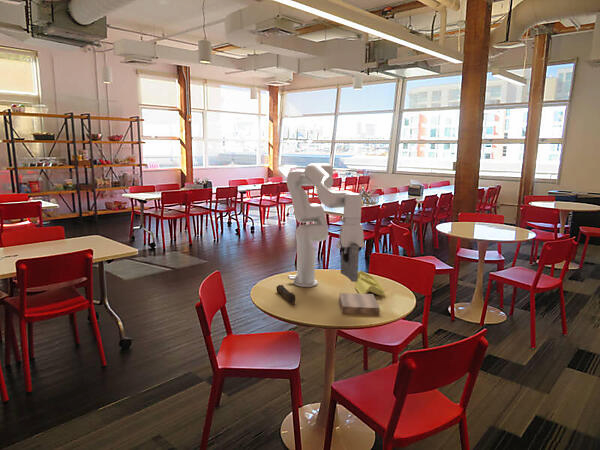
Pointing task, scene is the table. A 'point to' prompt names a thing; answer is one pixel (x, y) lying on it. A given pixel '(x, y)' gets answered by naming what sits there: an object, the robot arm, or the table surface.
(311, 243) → the robot arm
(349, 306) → the brown flat square piece
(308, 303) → the table surface
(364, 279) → the plastic component
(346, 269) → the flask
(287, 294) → the hand tool
